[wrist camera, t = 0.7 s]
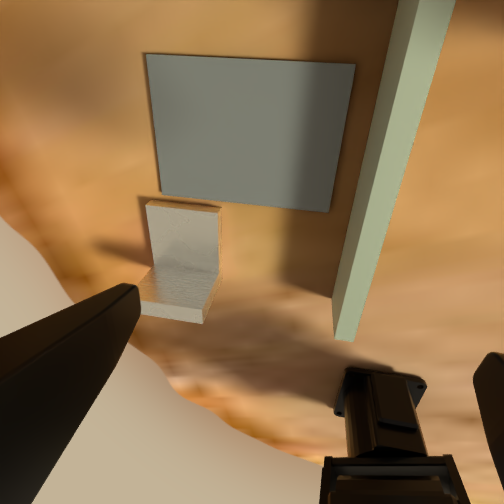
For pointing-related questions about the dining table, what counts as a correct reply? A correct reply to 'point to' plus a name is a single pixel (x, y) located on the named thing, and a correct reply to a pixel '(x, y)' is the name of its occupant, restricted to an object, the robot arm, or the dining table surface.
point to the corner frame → (388, 151)
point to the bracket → (182, 260)
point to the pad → (249, 128)
